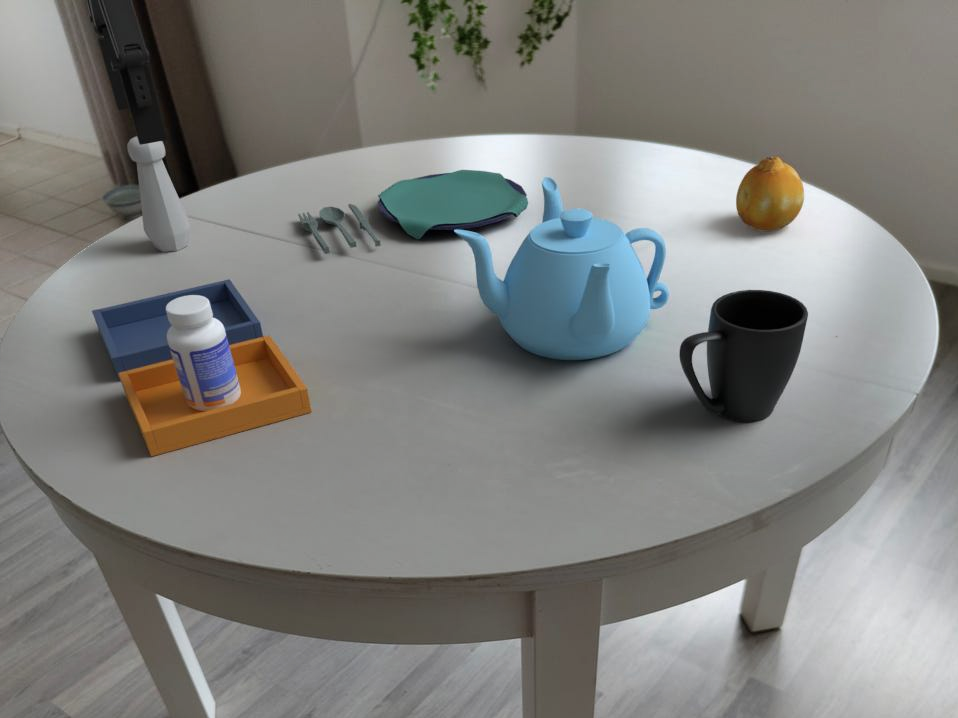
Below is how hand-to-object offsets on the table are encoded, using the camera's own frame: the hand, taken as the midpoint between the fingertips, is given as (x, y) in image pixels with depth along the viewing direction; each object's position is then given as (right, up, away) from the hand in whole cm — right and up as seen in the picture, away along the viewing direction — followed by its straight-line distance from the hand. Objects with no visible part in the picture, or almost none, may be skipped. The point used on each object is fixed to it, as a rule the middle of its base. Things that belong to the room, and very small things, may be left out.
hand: (141, 124), depth 97 cm
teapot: (+44, -20, +4) cm, 49 cm away
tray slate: (+2, -20, +6) cm, 21 cm away
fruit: (+71, -1, +22) cm, 74 cm away
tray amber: (+9, -30, -4) cm, 32 cm away
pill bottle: (+9, -30, -5) cm, 31 cm away
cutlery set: (+27, +3, +28) cm, 39 cm away
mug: (+58, -32, -9) cm, 67 cm away
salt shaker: (-5, -2, +26) cm, 26 cm away
